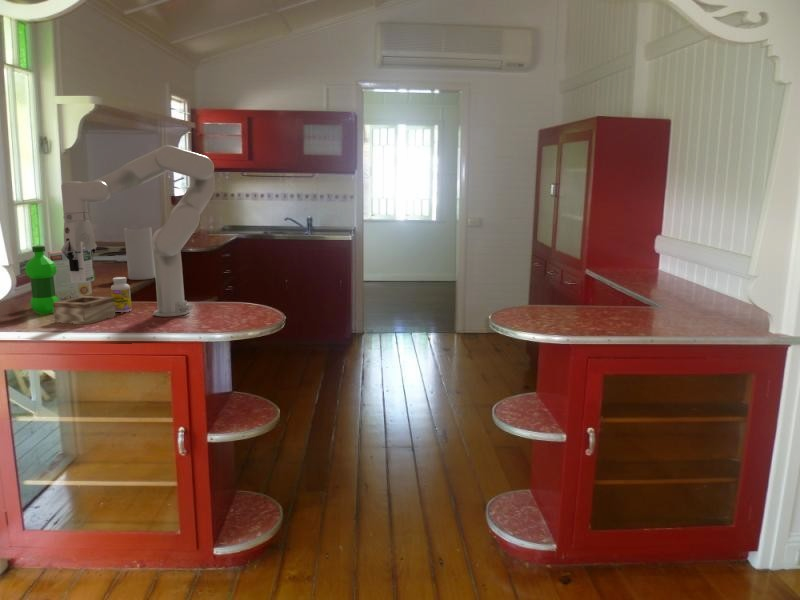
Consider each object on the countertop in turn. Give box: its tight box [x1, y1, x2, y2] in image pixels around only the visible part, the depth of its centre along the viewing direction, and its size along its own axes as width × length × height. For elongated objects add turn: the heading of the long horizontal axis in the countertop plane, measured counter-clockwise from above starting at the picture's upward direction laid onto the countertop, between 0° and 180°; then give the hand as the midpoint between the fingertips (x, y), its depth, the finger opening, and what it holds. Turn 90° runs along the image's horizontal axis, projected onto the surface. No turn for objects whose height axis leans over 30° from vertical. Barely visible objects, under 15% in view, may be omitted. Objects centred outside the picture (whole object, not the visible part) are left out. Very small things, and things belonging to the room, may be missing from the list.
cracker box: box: [47, 250, 93, 301], centre depth 279 cm, size 14×6×21 cm, turn 126°
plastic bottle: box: [24, 245, 59, 315], centre depth 256 cm, size 10×10×25 cm
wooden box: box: [53, 295, 116, 325], centre depth 245 cm, size 14×14×7 cm
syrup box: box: [68, 242, 96, 283], centre depth 239 cm, size 6×6×14 cm
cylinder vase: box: [123, 226, 155, 281], centre depth 339 cm, size 12×12×25 cm
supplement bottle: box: [110, 276, 132, 313], centre depth 257 cm, size 7×7×13 cm
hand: (81, 269), depth 239 cm, fingers closed on syrup box, 6 cm apart
